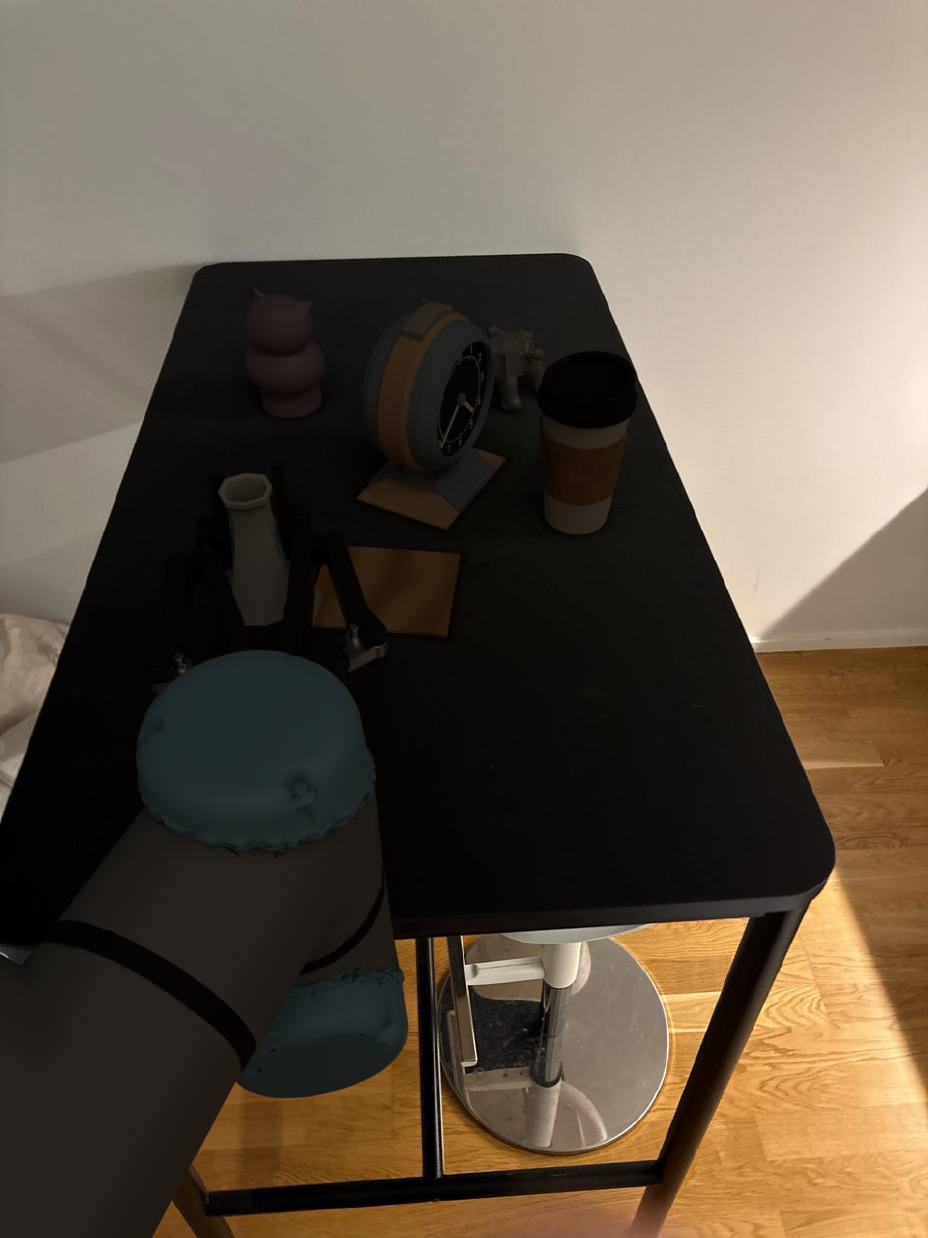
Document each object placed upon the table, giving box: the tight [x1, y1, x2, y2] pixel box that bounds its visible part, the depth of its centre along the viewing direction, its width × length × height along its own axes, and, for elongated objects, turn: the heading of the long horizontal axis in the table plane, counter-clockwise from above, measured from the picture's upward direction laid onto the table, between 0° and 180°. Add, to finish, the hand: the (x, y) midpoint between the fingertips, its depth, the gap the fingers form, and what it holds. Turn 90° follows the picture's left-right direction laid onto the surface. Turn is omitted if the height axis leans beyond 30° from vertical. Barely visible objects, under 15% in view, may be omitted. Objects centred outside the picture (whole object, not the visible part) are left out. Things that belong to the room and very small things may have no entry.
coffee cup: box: [536, 350, 638, 536], centre depth 86 cm, size 8×8×15 cm
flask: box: [218, 472, 323, 626], centre depth 63 cm, size 7×7×10 cm
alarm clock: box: [355, 301, 507, 531], centre depth 89 cm, size 14×10×18 cm
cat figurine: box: [243, 285, 326, 419], centre depth 101 cm, size 8×8×12 cm
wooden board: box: [312, 545, 462, 638], centre depth 84 cm, size 12×10×1 cm
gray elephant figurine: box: [486, 324, 546, 412], centre depth 102 cm, size 9×12×8 cm
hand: (249, 487), depth 66 cm, fingers closed on flask, 3 cm apart
